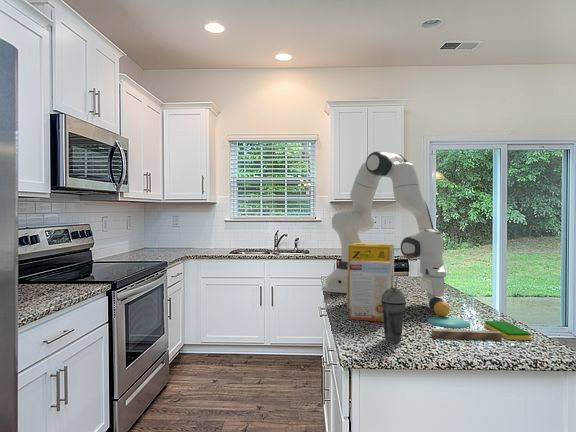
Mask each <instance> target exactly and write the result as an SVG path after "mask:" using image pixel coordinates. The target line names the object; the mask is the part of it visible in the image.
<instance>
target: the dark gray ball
mask: <svg viewBox="0 0 576 432" xmlns="http://www.w3.org/2000/svg"><path fill="white" fill-rule="evenodd" d="M440 301H442V302H444V300H443V299H442V298H441V297H434V298H432V299H431V300H430V301H429V302H428V305H429V308H430V310H431V311H434V305H435V304H436V303H437V302H440Z"/></svg>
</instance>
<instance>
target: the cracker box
mask: <svg viewBox="0 0 576 432" xmlns="http://www.w3.org/2000/svg"><path fill="white" fill-rule="evenodd" d="M390 288H391V262H390V261H370V260H352V261H350V308H349V320H358V321H369V322H379V323H384V320H383V308H382V302H381V300H382V295H383V293H384V292H385V291H386V290H387V289H390Z"/></svg>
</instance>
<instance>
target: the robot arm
mask: <svg viewBox="0 0 576 432" xmlns="http://www.w3.org/2000/svg"><path fill="white" fill-rule="evenodd" d="M382 178H389V179H391V183H392V190H393V198H394V200H395V202H396V205H398V206H399V207H401V208H402V209H404V210H406V211H408V212H409V213H410V214H412V215H413V216H414V217H415V220H416V223H417V227H418V231H419V232H418V233H416V234H414V235H410V236H407V237H406V236H405V237H404V238H403V239H402V240H401V243H400V252H401V254H402V256H403V257H405V258H406V259H409V260H415V259H416V260H418V259H419V273H420V274H421V277H420V287H421V288H422V289H423V290H424V291H426V296H427V302H428V303H429V301H430V300H431V299H432V298H434V297H438V298H441V297H443V296H444V292H445V277H446V276H447V272H446V270H445V268H444V267H445V266H444V258H443V254H444V245H445V244H444V237H443V233H442V232H441V231H440V230H438V229H434V225H433V222H432V220H433V219H432V217H431V214H430V210H429V207H428V204H427V203H426V201H425V199H424V197H423V195H422V192H421V191H422V190H421V187H420V180H419V176H418V173H417V170H416V167H415V165H414V164H413V163H411V162H408V160H407V159H406V157H404V156H403V155H401V154H397V153H394V152H390V151H388V152H387V151H386V152H385V151H381V150H380V151H379V150H378V151H377V150H376V151H374V152H371V153H370V154H369V155H368V156H367V157H366V160H365V162H362V164H361V166H360V167H359V169H358V171H357V173H356V177H355V179H354V181H353V184H352V188H351V190H350V194H349V198H350V201H352V208H351V210H341V211H338V212H336V213H335V214H333V216H332V218H331V226H332V228H333V230H334V231H335V232H336V234H337V235H338V238H339V240H340V247H341V248H340V249H341V260H336V262H335V263H336V265H337V266H336V267H337V268H336V269H335V270H334V271H332V272H331V273H329V274H328V275H327V277H326V279H325V284H323V285H321V286H320V290H321V291H322V292H325V293H326V292H327V293H341V294H342V293H343V294H347V281H348V245H351V244H354V243H363V242H362V241H361V239H360V237H359V236H360V235H359V233H366V232H368V231H371V230H372V229H373V227H374V225H375V218H374V216H373V213H372V212H373V210H372V208H373V207H372V206H373V201H374V198H375V196H376V195H375V194H376V192H377V188H378V186H379V183H380V180H381V179H382Z"/></svg>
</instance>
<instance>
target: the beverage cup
mask: <svg viewBox="0 0 576 432" xmlns="http://www.w3.org/2000/svg"><path fill="white" fill-rule="evenodd" d="M395 277H396V278H395V283H394V288H390V289H387V290H386V291H385V292H384V293H383V295H382V300H381V302H382V308H383V320H384V322H383V331H384V332H383V334H384V340H385V341H386V342H389V343H392V344H393V343H395V344H397V343H401V342H402V341H401V340H402V335H403V326H404V325H403V324H404V316H405V315H404V314H405V309H406V304H407V301H406V296H405V295H404V292H402V291H401V290H400V289H399V288H398V287H397V286H398V279H399V273H396V276H395Z"/></svg>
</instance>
